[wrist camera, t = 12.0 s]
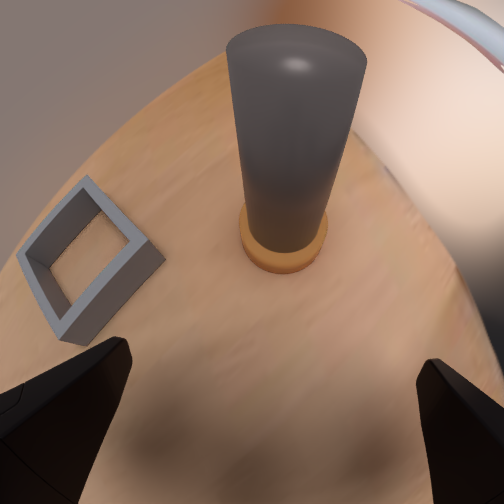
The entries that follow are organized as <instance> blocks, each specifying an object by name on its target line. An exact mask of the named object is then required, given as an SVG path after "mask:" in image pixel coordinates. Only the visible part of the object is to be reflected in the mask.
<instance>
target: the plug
mask: <svg viewBox="0 0 504 504" xmlns="http://www.w3.org/2000/svg"><path fill="white" fill-rule="evenodd" d="M226 54H227V62H228V70H229V77H230V85H231V93H232V101H233V109H234V117H235V124H236V132H237V140H238V148H239V156H240V163H241V171H242V179H243V187H244V195H245V203H244V205H243V207H242V209H241V212H240V217H239V226H240V232H241V237H242V243H243V247H244V249H245V252H246V254H247V255H248V257H249V258H250V259H251V260H252V262H254V263H255V264H256V265H257V266H259V267H260V268H262V269H264V270H266V271H269V272H272V273H277V274H289V273H294V272H297V271H300V270H302V269H304V268H305V267H307V266H308V265H309V264H311V263H312V262H313V261H314V259H315V258H316V257H317V255H318V253H319V251H320V249H321V246H322V244H323V241H324V239H325V236H326V233H327V228H328V221H327V215H326V212H325V208H326V205H327V202H328V199H329V196H330V193H331V190H332V187H333V184H334V181H335V177H336V174H337V171H338V168H339V164H340V161H341V158H342V155H343V151H344V148H345V144H346V141H347V138H348V134H349V131H350V127H351V123H352V120H353V116H354V113H355V109H356V105H357V101H358V98H359V94H360V89H361V86H362V82H363V78H364V74H365V69H366V65H367V58H366V56H365V54H364V52H363V51H362V50H361V49H360V48H359V47H358V46H357V45H356V44H355V43H353V42H352V41H350V40H349V39H347V38H345V37H343V36H341V35H339V34H336V33H334V32H331V31H328V30H325V29H321V28H317V27H312V26H306V25H298V24H274V25H266V26H260V27H256V28H253V29H249V30H246V31H244V32H242V33H240V34H238V35H236V36H235V37H234V38H232V39H231V40H230V42H229V43H228V45H227V47H226Z"/></svg>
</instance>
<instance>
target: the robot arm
mask: <svg viewBox="0 0 504 504" xmlns="http://www.w3.org/2000/svg"><path fill="white" fill-rule="evenodd" d="M131 367H132V356H131V352H130V349H129V345H128V342H127V340H126V339H124V338H121V337H116V336H114V337H111V338H109V339H107V340H106V341H104V342H102V343H100V344H98V345H96V346H94V347H92V348H90V349H88V350H86V351H85V352H83V353H81V354H79V355H77V356H75V357H73V358H71V359H69V360H67V361H65V362H63V363H61V364H59V365H58V366H56V367H54V368H52V369H50V370H48V371H46V372H44V373H42V374H40V375H38V376H36V377H34V378H32V379H30V380H28V381H26V382H25V383H22V384H20V385H18V386H16V387H14V388H12V389H10V390H8V391H6V392H4V393H2V394H0V504H78V502H79V499H80V497H81V494H82V491H83V489H84V486H85V484H86V481H87V478H88V476H89V473H90V471H91V468H92V466H93V463H94V461H95V459H96V456H97V454H98V451H99V449H100V447H101V444H102V442H103V440H104V437H105V435H106V433H107V430H108V428H109V426H110V423H111V421H112V419H113V417H114V415H115V412H116V410H117V408H118V405H119V403H120V400H121V397H122V394H123V391H124V388H125V385H126V382H127V379H128V376H129V373H130V370H131ZM416 388H417V395H418V403H419V411H420V420H421V427H422V432H423V437H424V442H425V447H426V453H427V458H428V464H429V471H430V478H431V485H432V494H433V503H434V504H504V408H503V407H502V406H500V405H499V404H498V403H496V402H495V401H494V400H493V399H491V398H490V397H489V396H488V395H486V394H485V393H484V392H482V391H481V390H480V389H478V388H477V387H476V386H475V385H473V384H472V383H471V382H469V381H468V380H467V379H465V378H464V377H463V376H461V375H460V374H459V373H458V372H456V371H455V370H454V369H452V368H451V367H450V366H448V365H447V364H446V363H444V362H443V361H442V360H440V359H438V358H435V359H428V360H427V361H425V363H424V365H423V367H422V369H421V371H420V373H419V375H418V377H417V380H416Z"/></svg>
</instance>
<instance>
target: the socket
mask: <svg viewBox="0 0 504 504" xmlns="http://www.w3.org/2000/svg"><path fill="white" fill-rule="evenodd" d="M101 210H103V211H104V212H105V214H106V215H107V216H108V217H109V218H110V219H111V220H112V222H113V223H114V224H115V225H116V226H117V227H118V228H119V229H120V230H121V232H122V233H123V234H124V235H125V236H126V237H127V238H128V239H129V240H130V242H129V243H128V244H127V245H126V246H125V247H124V248H123V249H122V250H121V251H120V252H119V253H118V254H117V255H116V257H115V258H114V259H113V260H112V261H111V262H110V263H109V264H108V265H107V266H106V267H105V268H104V270H103V271H102V272H101V273H100V274H99V275H98V276H97V277H96V278H95V280H94V281H93V282H92V283H91V284H90V285H89V286H88V288H87V289H86V290H85V291H84V292H83V293H82V295H81V296H80V297H79V298H78V299H77V300H76V302H75V303H74V304H73V305H72V306H71V305H70V303H69V302H68V300H67V299H66V297H65V295H64V294H63V292H62V290H61V289H60V287H59V285H58V284H57V282H56V280H55V278H54V277H53V275H52V273H51V271H50V270H49V267H50V266H51V265H52V264H53V262H54V261H55V260H56V259H57V258H58V257H59V255H60V254H61V253H62V252H63V251H64V249H65V248H66V247H67V246H68V245H69V244H70V243H71V241H72V240H73V239H74V238H75V237H76V236H77V235H78V234H79V233H80V232H81V230H82V229H83V228H84V227H85V226H86V225H87V224H88V223H89V222H90V221H91V220H92V219H93V218H94V217H95V216H96V215H97V214H98V213H99V212H100V211H101ZM16 257H17V259H18V261H19V264H20V266H21V268H22V271H23V273H24V275H25V278H26V280H27V282H28V284H29V286H30V288H31V290H32V292H33V294H34V296H35V298H36V300H37V302H38V304H39V306H40V308H41V310H42V312H43V314H44V316H45V317H46V319H47V321H48V323H49V325H50V326H51V328H52V330H53V331H54V333H55V335H56V336H57V338H58V340H60V341H64V342H69V343H73V344H78V345H83V346H87V345H88V344H89V343H90V342H91V340H92V339H93V338H94V337H95V336H96V335H97V333H98V332H99V331H100V330H101V329H102V328H103V327H104V325H105V324H106V323H107V322H108V321H109V320H110V319H111V318H112V316H113V315H114V314H115V313H116V312H117V311H118V310H119V309H120V308H121V306H122V305H123V304H124V303H125V302H126V301H127V300H128V299H129V298H130V297H131V295H132V294H133V293H134V292H135V291H136V290H137V289H138V288H139V287H140V286H141V285H142V284H143V283H144V282H145V280H146V279H147V278H148V277H149V276H150V275H151V274H152V273H153V272H154V271H155V270H156V269H157V268H158V267H159V266H160V265H161V264H162V263H163V262H164V261H165V260H166V259H165V258H164V257H163V256H162V255H161V253H160V252H159V251H158V250H157V249H156V248H155V246H154V245H153V244H152V243H151V242H150V240H149V239H148V238H147V237H146V236H145V235H144V234H143V233H142V232H141V231H140V230H139V229H138V228H137V227H136V226H135V225H134V224H133V223H132V222H131V221H130V220H129V219H128V218H127V217H126V216H125V215H124V214H123V213H122V212H121V211H120V210H119V208H118V207H117V206H116V205H115V204H114V203H113V202H112V201H111V200H110V199H109V198H108V197H107V196H106V195H105V194H104V192H103V191H102V190H101V189H100V188H99V187H98V186H97V185H96V184H95V183H94V182H93V180H92V179H91V178H90V177H89V176H88V175H86V176H85V177H84V178H83V179H81V180H80V181H79V182H78V183H77V184H76V185H75V186H74V187H73V188H72V190H71V191H70V192H69V193H68V194H67V195H66V196H65V197H64V198H63V199H62V200H61V201H60V202H59V203H58V204H57V205H56V206H55V208H54V209H53V210H52V211H51V212H50V213H49V214H48V215H47V217H46V218H45V219H44V220H43V221H42V222H41V223H40V225H39V226H38V227H37V228H36V229H35V231H34V232H33V233H32V234H31V236H30V237H29V238H28V239H27V241H26V242H25V243H24V244H23V246H22V247H21V248H20V250H19V251H18V252H17V254H16Z"/></svg>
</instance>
